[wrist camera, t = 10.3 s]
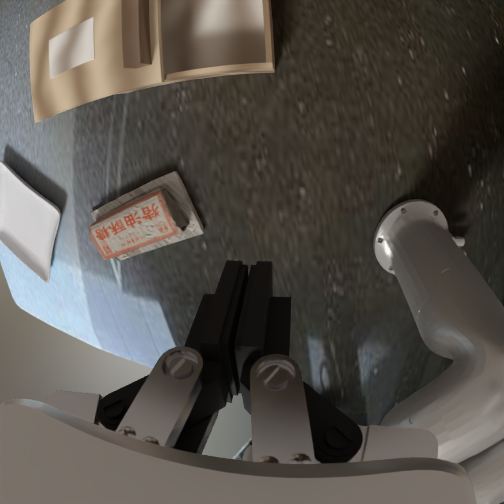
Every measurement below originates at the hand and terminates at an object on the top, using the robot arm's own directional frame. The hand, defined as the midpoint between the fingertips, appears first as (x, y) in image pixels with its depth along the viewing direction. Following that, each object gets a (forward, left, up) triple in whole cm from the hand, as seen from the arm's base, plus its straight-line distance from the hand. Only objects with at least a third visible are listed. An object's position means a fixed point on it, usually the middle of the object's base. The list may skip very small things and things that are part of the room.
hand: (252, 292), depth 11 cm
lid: (+22, -18, -21) cm, 35 cm away
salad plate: (+51, +8, -28) cm, 59 cm away
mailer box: (+10, -18, -27) cm, 34 cm away
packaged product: (+21, +10, -28) cm, 36 cm away
